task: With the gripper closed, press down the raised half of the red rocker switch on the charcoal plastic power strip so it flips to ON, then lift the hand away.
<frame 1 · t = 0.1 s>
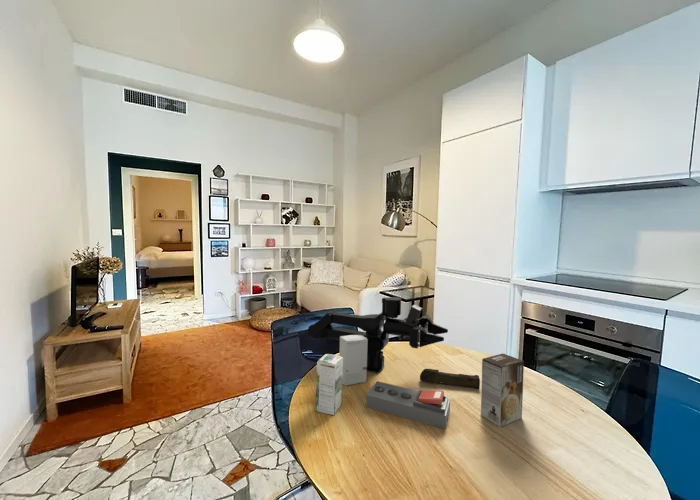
hand: (445, 334, 99), 17 cm above the table, tool horizontal, fingers open, 9 cm apart
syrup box: (329, 409, 84), on the table
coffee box: (500, 417, 82), on the table
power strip: (407, 408, 85), on the table
skincare box: (352, 380, 101), on the table
hand tool: (449, 386, 99), on the table
rocker switch: (431, 396, 82), point 5 cm above the table, hinge at -12.0°
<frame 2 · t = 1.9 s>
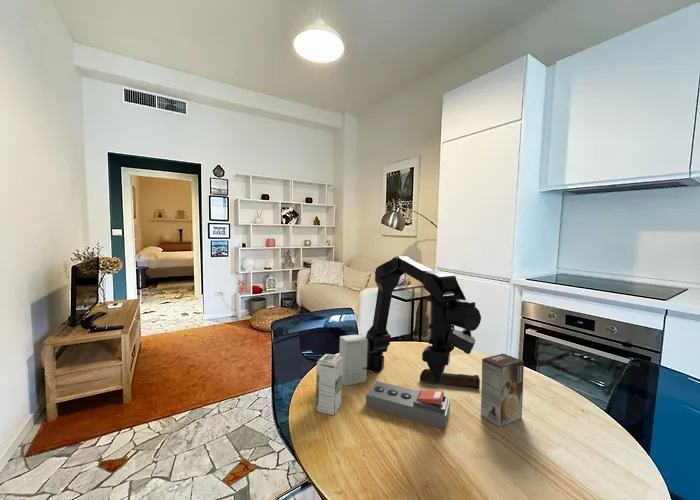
hand: (439, 377, 81), 11 cm above the table, tool pointing down, fingers open, 7 cm apart
nothing on the table moved.
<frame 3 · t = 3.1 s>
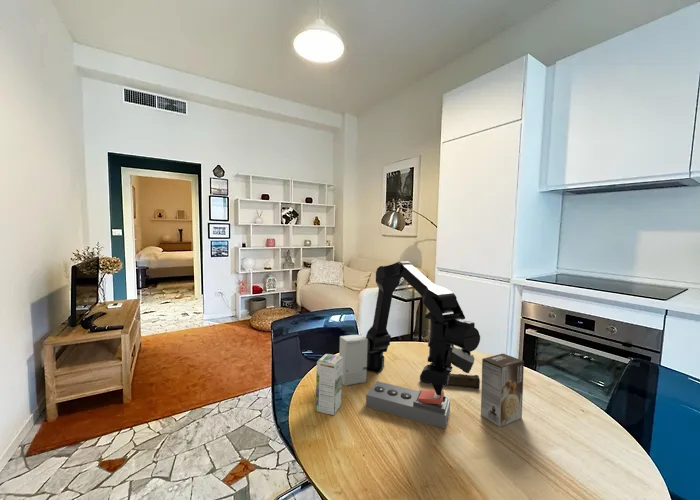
hand: (438, 394, 81), 6 cm above the table, tool pointing down, fingers closed, pressing on rocker switch
rocker switch: (431, 396, 82), point 5 cm above the table, hinge at -12.0°, touching gripper
everything else where it was.
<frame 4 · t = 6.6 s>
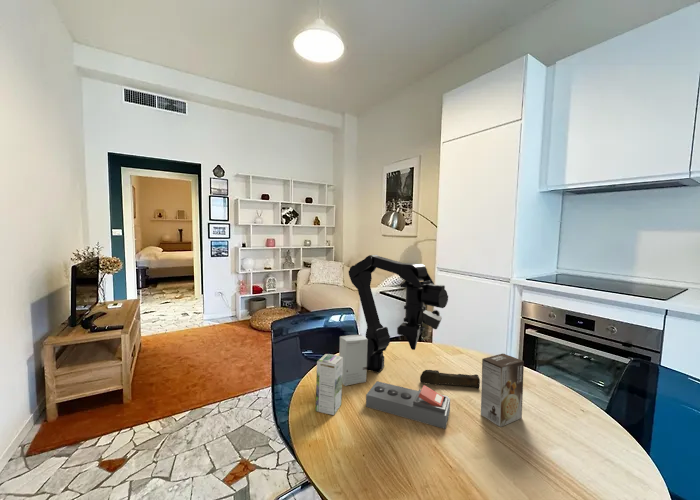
hand: (413, 349, 98), 12 cm above the table, tool pointing down, fingers closed
rocker switch: (431, 396, 82), point 5 cm above the table, hinge at 19.9°
everything else where it was.
at the end: rocker switch at +20° (first picture: -12°) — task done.
